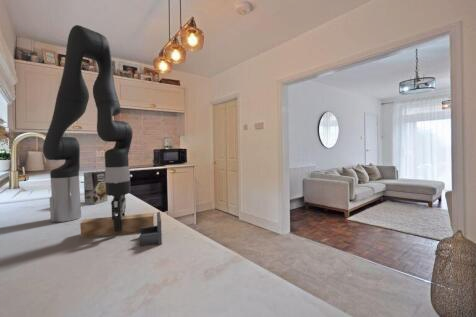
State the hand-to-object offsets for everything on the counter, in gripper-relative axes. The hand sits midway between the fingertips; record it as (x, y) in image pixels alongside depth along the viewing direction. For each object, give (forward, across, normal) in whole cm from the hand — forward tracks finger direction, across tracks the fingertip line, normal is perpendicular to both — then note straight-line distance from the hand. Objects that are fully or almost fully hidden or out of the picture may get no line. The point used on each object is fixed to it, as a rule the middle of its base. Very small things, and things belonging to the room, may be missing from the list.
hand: (120, 226), depth 79 cm
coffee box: (+2, -52, -17) cm, 55 cm away
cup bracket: (+2, +12, +10) cm, 15 cm away
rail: (+2, 0, 0) cm, 2 cm away
